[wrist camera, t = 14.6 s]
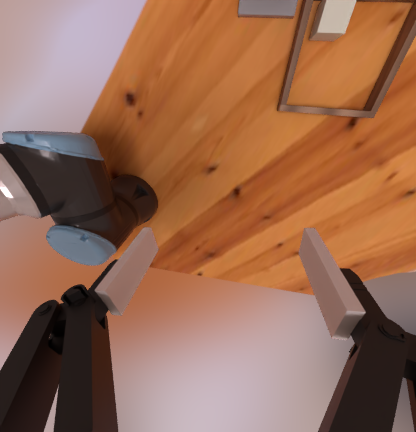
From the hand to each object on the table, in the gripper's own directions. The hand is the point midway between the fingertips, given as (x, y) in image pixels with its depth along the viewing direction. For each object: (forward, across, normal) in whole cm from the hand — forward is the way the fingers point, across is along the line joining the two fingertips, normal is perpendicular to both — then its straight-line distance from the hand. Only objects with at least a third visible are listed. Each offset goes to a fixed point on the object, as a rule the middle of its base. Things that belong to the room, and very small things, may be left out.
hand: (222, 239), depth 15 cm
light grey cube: (+32, +16, +20) cm, 40 cm away
